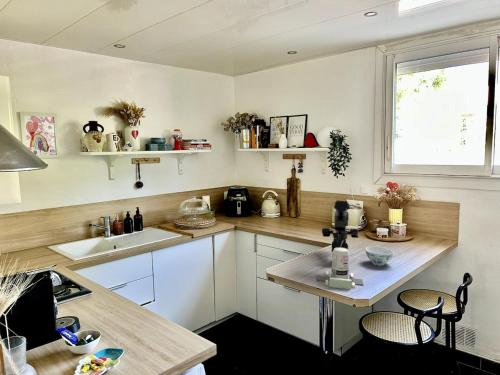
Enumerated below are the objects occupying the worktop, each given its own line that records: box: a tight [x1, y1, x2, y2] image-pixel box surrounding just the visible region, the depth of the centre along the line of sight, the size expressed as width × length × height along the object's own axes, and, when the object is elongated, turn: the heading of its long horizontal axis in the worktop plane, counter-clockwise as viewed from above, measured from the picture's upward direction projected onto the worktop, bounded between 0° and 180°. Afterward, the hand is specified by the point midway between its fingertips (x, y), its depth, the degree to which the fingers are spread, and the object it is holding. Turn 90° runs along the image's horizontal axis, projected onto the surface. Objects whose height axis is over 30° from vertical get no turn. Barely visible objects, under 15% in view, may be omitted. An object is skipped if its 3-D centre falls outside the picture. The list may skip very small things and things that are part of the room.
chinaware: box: [365, 246, 394, 266], centre depth 210 cm, size 15×15×8 cm
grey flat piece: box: [316, 270, 364, 290], centre depth 183 cm, size 18×22×4 cm
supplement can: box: [330, 248, 350, 279], centre depth 186 cm, size 8×8×15 cm
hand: (339, 247), depth 194 cm, fingers closed
